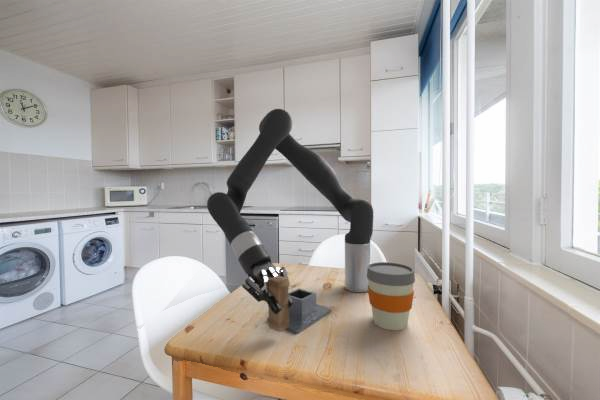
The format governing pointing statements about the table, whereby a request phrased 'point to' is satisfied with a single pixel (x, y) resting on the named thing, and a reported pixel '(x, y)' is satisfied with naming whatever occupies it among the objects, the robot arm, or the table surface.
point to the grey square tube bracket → (304, 310)
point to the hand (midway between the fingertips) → (284, 308)
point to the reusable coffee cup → (390, 294)
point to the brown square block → (281, 295)
